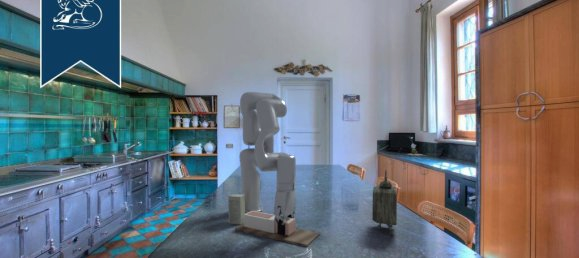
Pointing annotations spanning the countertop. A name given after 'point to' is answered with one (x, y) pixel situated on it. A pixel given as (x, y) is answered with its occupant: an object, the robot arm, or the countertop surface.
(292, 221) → the stub
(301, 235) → the board
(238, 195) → the skincare box
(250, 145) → the robot arm
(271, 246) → the countertop surface
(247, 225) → the white box with vents
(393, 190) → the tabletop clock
